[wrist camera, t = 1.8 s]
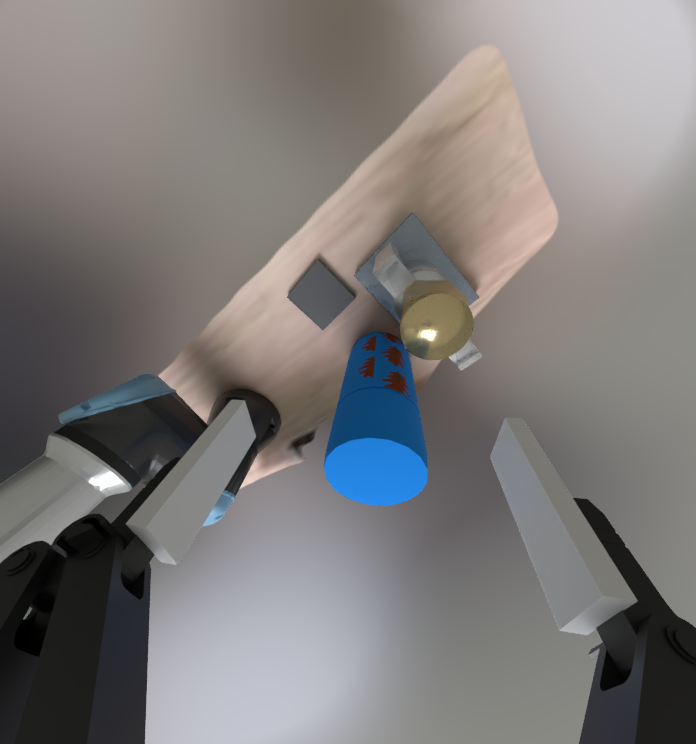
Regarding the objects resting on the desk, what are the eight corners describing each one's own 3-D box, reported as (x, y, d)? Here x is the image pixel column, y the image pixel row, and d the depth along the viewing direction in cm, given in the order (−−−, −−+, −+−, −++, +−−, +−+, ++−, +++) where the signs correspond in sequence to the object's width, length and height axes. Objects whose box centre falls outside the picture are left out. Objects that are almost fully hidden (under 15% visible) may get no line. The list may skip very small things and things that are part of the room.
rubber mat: (324, 328, 45) (322, 330, 44) (288, 295, 43) (286, 297, 42) (355, 296, 42) (355, 298, 41) (319, 258, 39) (317, 259, 39)
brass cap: (475, 313, 31) (504, 344, 23) (427, 348, 34) (439, 387, 27) (418, 243, 28) (431, 254, 20) (371, 290, 31) (367, 313, 23)
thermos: (384, 392, 51) (385, 518, 30) (339, 364, 49) (304, 478, 28) (421, 352, 45) (454, 471, 24) (371, 319, 43) (359, 417, 22)
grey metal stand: (417, 338, 44) (431, 392, 31) (355, 273, 40) (340, 301, 26) (475, 293, 39) (522, 333, 26) (411, 213, 35) (428, 211, 22)
